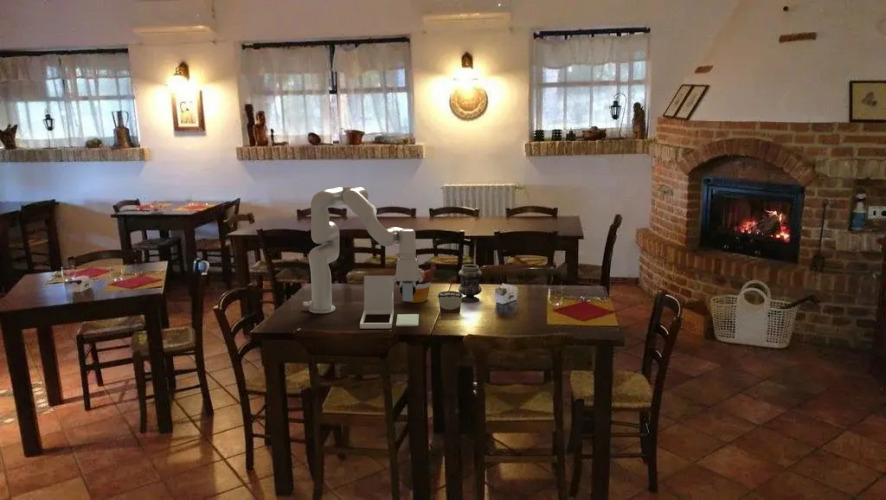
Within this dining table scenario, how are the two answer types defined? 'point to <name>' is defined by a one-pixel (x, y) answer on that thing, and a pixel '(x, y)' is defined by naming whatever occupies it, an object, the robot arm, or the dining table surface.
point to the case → (378, 299)
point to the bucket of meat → (423, 285)
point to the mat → (407, 320)
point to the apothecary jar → (470, 283)
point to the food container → (450, 302)
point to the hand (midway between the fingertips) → (407, 294)
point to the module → (407, 291)
